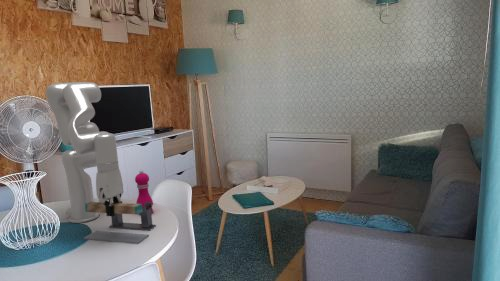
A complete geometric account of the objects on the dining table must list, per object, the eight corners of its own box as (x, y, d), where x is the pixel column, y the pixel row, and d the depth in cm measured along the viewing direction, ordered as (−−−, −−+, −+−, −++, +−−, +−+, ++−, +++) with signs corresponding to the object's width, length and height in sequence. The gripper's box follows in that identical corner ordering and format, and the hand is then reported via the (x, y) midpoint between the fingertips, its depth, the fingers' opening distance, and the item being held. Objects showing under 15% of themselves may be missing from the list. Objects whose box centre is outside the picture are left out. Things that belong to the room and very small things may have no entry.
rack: (108, 228, 157) (105, 204, 155) (116, 223, 162) (114, 200, 160) (149, 231, 151) (146, 206, 149) (156, 226, 156) (153, 202, 154)
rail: (85, 211, 147) (84, 204, 146) (91, 209, 150) (90, 202, 149) (137, 214, 140) (137, 206, 139) (142, 211, 142) (141, 203, 142)
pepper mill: (156, 210, 176) (151, 167, 173) (150, 215, 169) (146, 171, 165) (141, 210, 176) (136, 168, 173) (134, 216, 169) (130, 172, 166)
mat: (84, 239, 147) (83, 237, 147) (96, 232, 153) (96, 230, 153) (138, 243, 139) (138, 242, 139) (148, 236, 146) (148, 234, 146)
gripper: (113, 162, 151) (118, 207, 154) (84, 172, 135) (90, 221, 138) (129, 162, 149) (134, 207, 151) (101, 172, 133) (108, 222, 136)
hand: (113, 213), depth 145 cm, fingers closed on rail, 3 cm apart
